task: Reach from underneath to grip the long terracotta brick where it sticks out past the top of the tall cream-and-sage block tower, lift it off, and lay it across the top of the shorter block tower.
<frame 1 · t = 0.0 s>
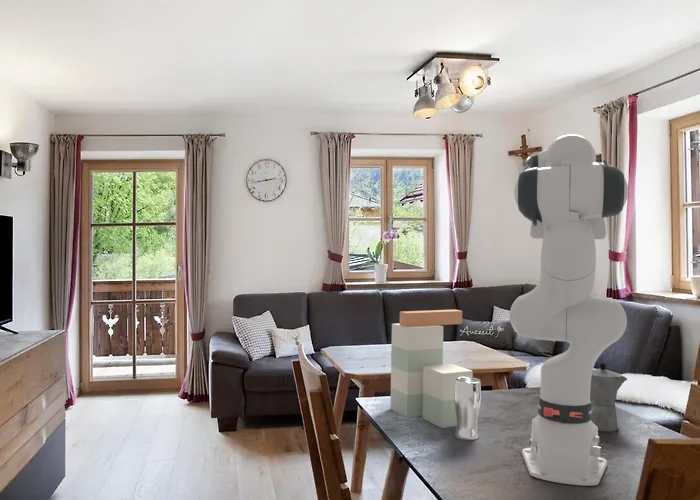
hand: (566, 255, 167), 48 cm above the table, tool pointing down, fingers open, 8 cm apart
long brick: (431, 324, 180), point 26 cm above the table, touching tall tower
beer glass: (466, 437, 155), on the table
tall tower: (415, 410, 178), on the table
coffeepot: (597, 426, 166), on the table
short tower: (446, 420, 168), on the table
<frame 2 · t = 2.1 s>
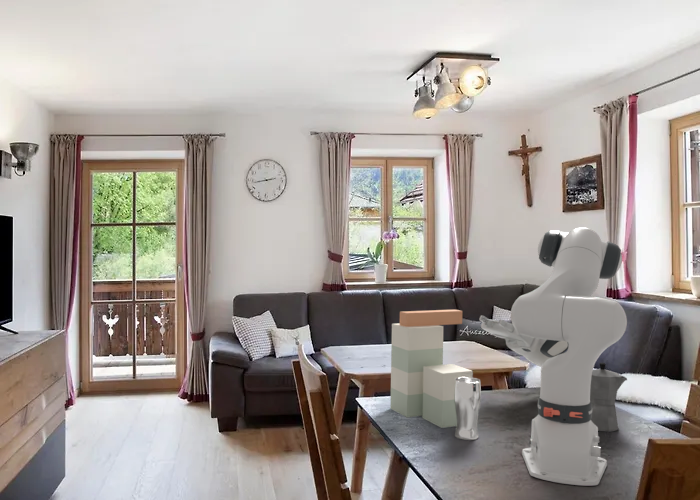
hand: (490, 319, 189), 27 cm above the table, tool pointing upward, fingers open, 8 cm apart
nothing on the table moved.
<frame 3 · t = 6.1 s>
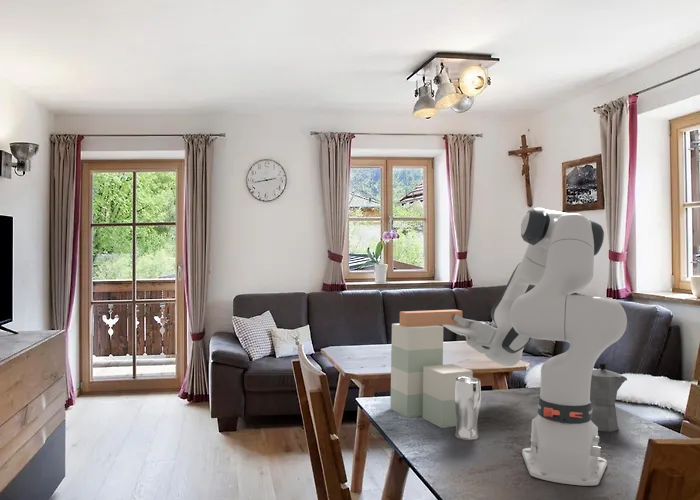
hand: (448, 315, 182), 28 cm above the table, tool pointing upward, fingers closed on long brick, 4 cm apart
long brick: (431, 324, 180), point 26 cm above the table, touching gripper, tall tower
everything else where it was.
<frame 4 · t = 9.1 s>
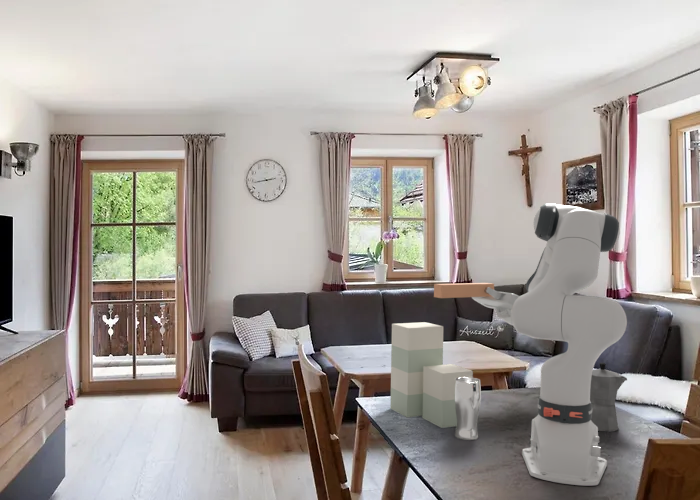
hand: (480, 288, 187), 37 cm above the table, tool pointing upward, fingers closed on long brick, 4 cm apart
long brick: (464, 296, 185), point 34 cm above the table, touching gripper
everything else where it was.
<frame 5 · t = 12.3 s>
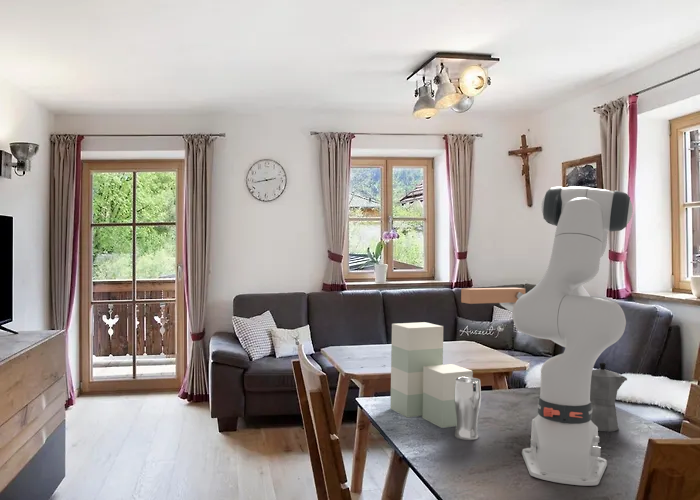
hand: (510, 293, 174), 36 cm above the table, tool pointing upward, fingers closed on long brick, 4 cm apart
long brick: (493, 302, 172), point 34 cm above the table, touching gripper
everything else where it was.
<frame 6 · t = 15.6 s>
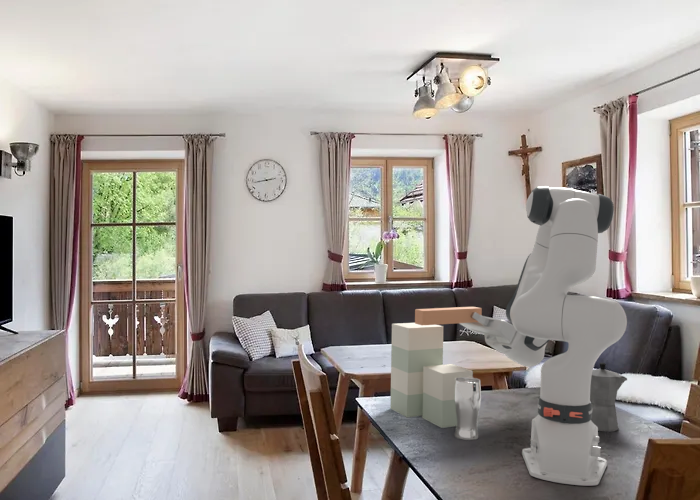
hand: (466, 313, 170), 31 cm above the table, tool pointing upward, fingers closed on long brick, 4 cm apart
long brick: (448, 322, 168), point 28 cm above the table, touching gripper
everything else where it was.
when the fingers open (19 cm above the table, at t = 18.5 s): long brick drops 2 cm, resting on short tower.
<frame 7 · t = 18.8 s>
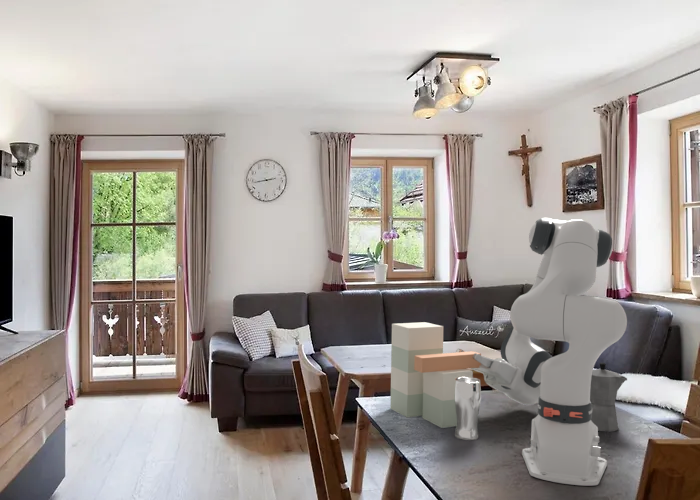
hand: (466, 353, 171), 19 cm above the table, tool pointing upward, fingers open, 7 cm apart
long brick: (448, 368, 168), point 15 cm above the table, touching short tower
everything else where it was.
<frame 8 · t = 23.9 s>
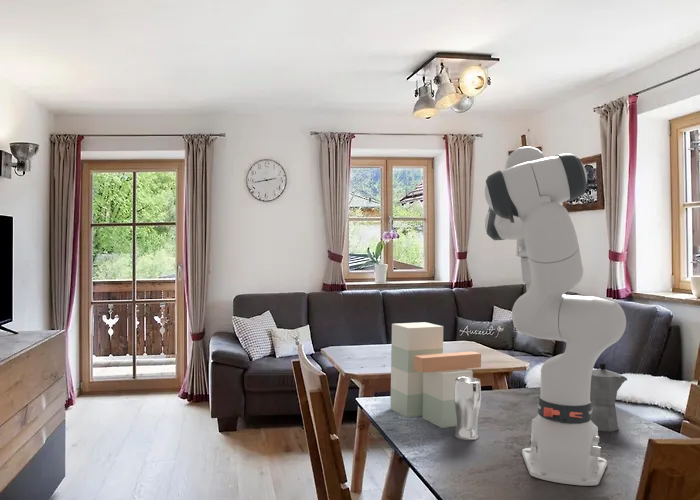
hand: (530, 296, 178), 35 cm above the table, tool pointing down, fingers open, 8 cm apart
nothing on the table moved.
at the end: long brick inside the target area on the short tower (0.1 cm from its centre), point 15.0 cm above the short tower's base; the gripper is holding nothing; long brick touching short tower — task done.
